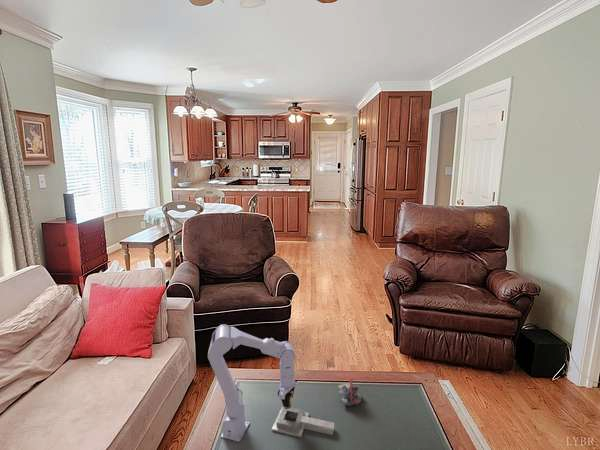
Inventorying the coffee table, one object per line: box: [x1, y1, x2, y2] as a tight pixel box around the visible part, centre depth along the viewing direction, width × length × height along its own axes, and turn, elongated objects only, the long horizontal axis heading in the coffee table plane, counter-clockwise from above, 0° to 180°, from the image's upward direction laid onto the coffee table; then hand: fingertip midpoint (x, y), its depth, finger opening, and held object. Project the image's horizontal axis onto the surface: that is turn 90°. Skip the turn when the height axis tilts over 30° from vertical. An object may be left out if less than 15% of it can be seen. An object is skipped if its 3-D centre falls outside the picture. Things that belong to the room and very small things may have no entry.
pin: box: [282, 389, 294, 409], centre depth 141 cm, size 4×4×7 cm
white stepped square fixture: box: [271, 406, 335, 438], centre depth 140 cm, size 12×24×3 cm, turn 73°
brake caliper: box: [337, 377, 362, 407], centre depth 153 cm, size 11×11×12 cm
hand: (288, 401), depth 141 cm, fingers closed on pin, 4 cm apart
